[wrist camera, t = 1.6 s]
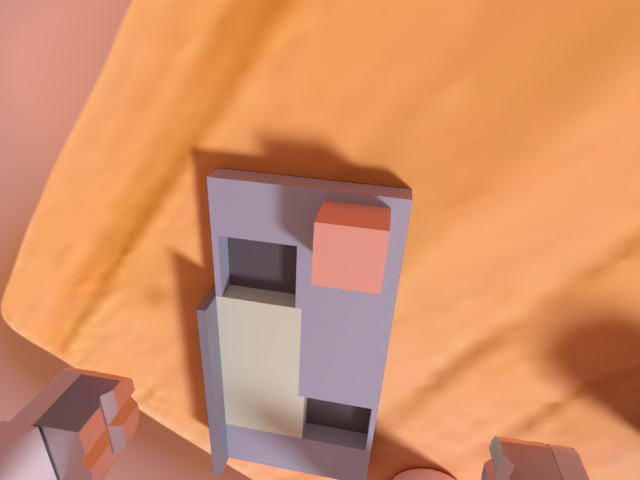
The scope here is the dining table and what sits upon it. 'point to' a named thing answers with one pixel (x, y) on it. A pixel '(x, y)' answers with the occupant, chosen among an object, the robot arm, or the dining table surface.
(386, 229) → the block
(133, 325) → the dining table surface
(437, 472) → the milk bottle
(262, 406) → the board
